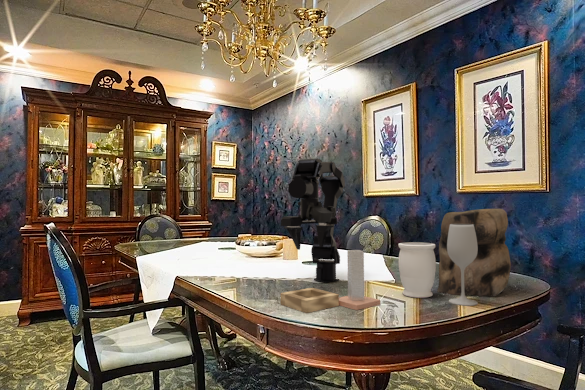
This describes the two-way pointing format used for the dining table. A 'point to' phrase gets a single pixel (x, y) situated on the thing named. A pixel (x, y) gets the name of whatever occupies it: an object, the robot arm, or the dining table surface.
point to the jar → (417, 268)
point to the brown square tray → (309, 299)
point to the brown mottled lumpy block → (490, 257)
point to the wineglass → (462, 254)
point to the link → (356, 275)
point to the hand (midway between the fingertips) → (310, 248)
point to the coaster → (358, 303)
